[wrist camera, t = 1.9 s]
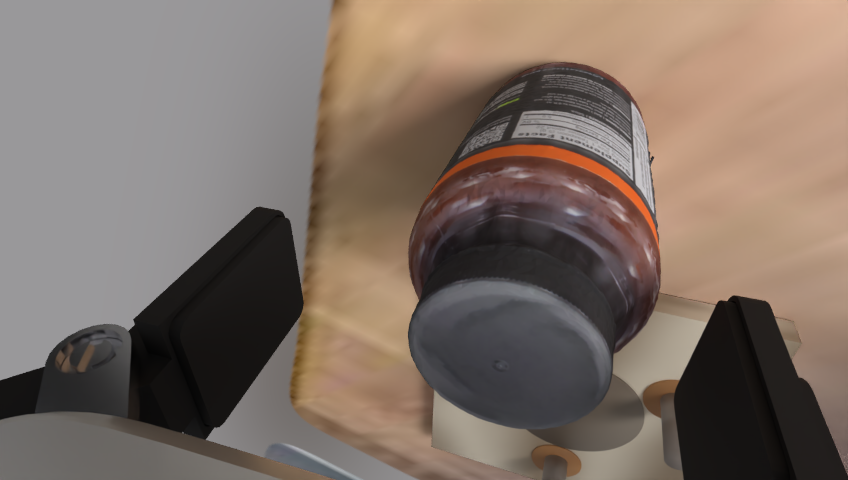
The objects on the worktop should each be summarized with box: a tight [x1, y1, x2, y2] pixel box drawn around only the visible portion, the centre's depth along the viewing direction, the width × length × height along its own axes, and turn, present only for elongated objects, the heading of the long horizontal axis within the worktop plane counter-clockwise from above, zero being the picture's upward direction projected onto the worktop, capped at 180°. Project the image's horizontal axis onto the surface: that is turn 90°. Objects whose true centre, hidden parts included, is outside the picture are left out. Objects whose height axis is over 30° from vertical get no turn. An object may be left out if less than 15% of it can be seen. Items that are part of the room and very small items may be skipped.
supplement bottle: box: [408, 62, 661, 429], centre depth 14 cm, size 6×6×11 cm
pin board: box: [431, 293, 802, 480], centre depth 24 cm, size 14×14×4 cm
